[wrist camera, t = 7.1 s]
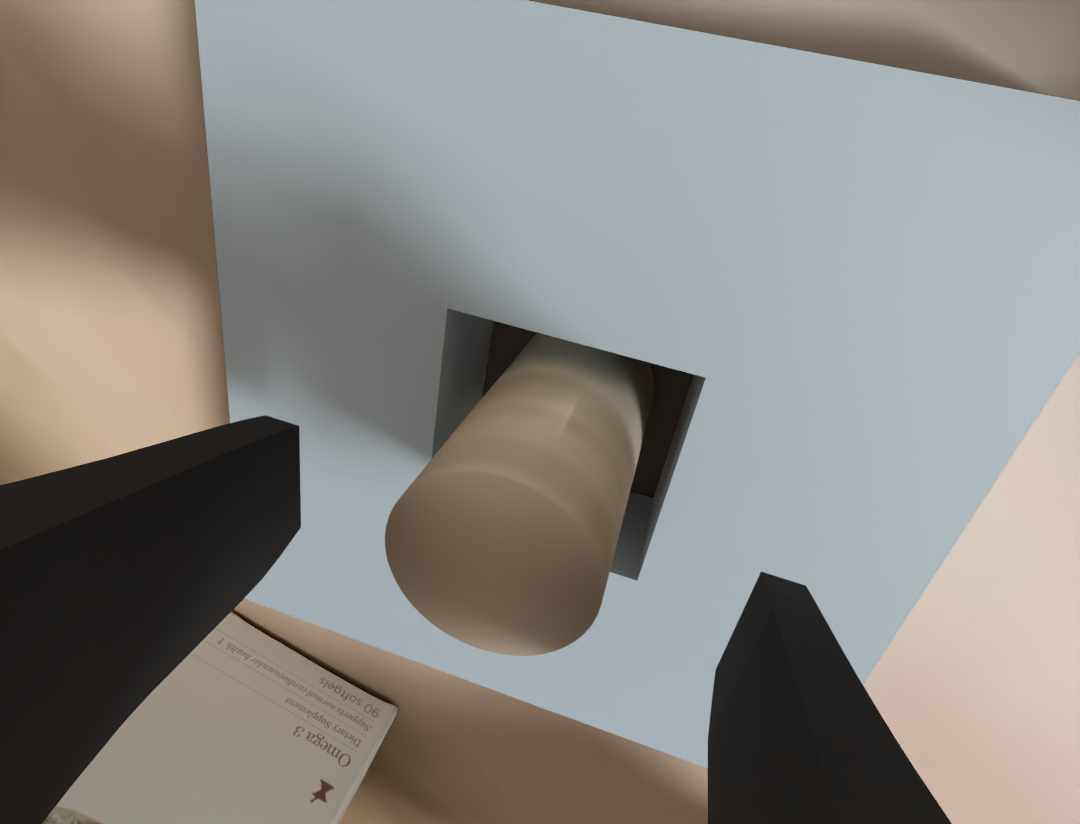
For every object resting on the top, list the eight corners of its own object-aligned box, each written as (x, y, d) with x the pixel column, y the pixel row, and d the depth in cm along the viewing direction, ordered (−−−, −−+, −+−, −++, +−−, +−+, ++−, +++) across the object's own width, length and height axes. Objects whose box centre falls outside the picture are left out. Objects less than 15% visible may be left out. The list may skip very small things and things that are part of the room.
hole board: (779, 689, 17) (789, 798, 14) (312, 530, 19) (245, 599, 16) (1096, 120, 10) (1225, 127, 7) (306, -27, 12) (189, -62, 9)
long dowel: (637, 460, 15) (580, 682, 9) (509, 426, 15) (382, 616, 10) (669, 336, 13) (626, 511, 8) (526, 302, 14) (387, 444, 8)
